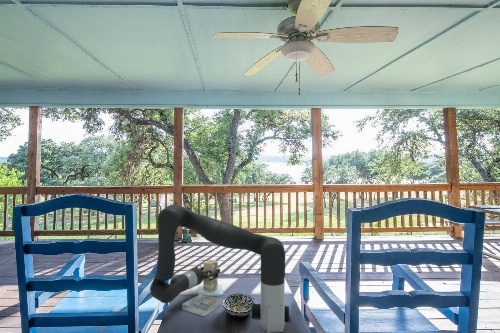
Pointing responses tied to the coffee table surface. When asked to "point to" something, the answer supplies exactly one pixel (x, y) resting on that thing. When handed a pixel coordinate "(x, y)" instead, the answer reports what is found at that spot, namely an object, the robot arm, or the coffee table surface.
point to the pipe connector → (257, 311)
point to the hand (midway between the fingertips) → (212, 269)
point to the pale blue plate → (215, 293)
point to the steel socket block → (197, 309)
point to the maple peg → (208, 284)
